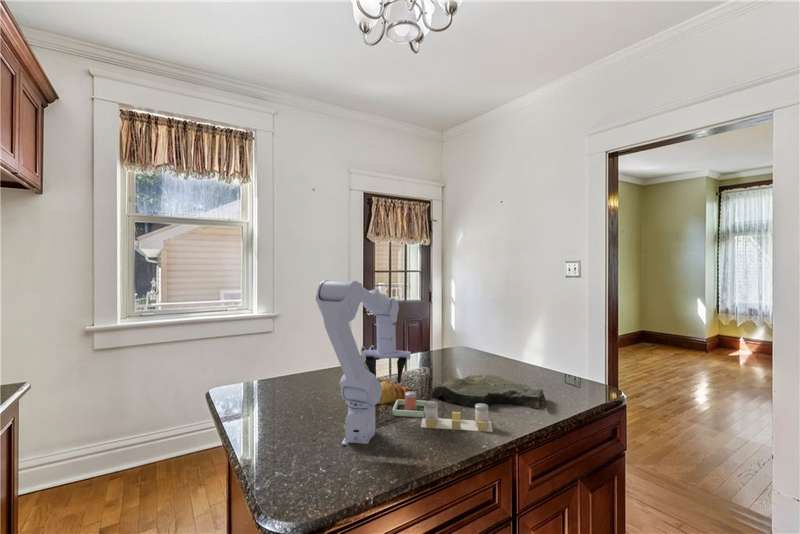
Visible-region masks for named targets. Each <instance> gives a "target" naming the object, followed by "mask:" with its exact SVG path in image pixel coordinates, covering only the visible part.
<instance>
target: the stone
mask: <svg viewBox="0 0 800 534" xmlns="http://www.w3.org/2000/svg"><path fill="white" fill-rule="evenodd" d="M441 397H442V398H443V401H445V402H447V403H449V404H455V403H456V404H458V405H462V406H464V407H470V408H475V405H476V404H478V403H483V404H486V405H488V408H489V407H492V406H493V405H498V406H499V405H507V406H508V405H510V406H511V405H512V406H519V407H520V406H521V407H524V408H529V409H533V410H540V409H541V408H544V409H546V406H547V404H546V403H547V402H546V396H545V393H544V390H543V389H542V388H539V387H535V386H532V385H527V384H524V383H520V382H516V381H512V380H509V379H507V378H505V377H503V376H501V375H495V374H478V375H476V374H473V375H472V374H471V375H468V376H466V377H465V378H454V377H451V378H447V379H446V380H445V381H443V382H441V383H440V384H438V385H437V386H434V387H433V388H432V391H431V393H430V398H431V399H435V400H439V399H440V398H441Z"/></svg>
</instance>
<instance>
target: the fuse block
mask: <svg viewBox="0 0 800 534" xmlns="http://www.w3.org/2000/svg"><path fill="white" fill-rule="evenodd" d="M461 417H462V416H461V411H451V418H441V417H440V418H439V417H438V424H437V425H435V418H426V424H425V417H422V419H421V423H420V424H421V425H420V428H427V429H441V430H442V429H443V430H456V431H457V430H458V431H459V430H460V431H461V430H462V431H472V432H473V431H474V432H475V431H476V432H491V433H493V432H494V431H493V424H492V421H490V420H488V428H487V421H478V428H477V427H476V426H475V420H472V419H461Z"/></svg>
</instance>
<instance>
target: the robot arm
mask: <svg viewBox="0 0 800 534" xmlns="http://www.w3.org/2000/svg"><path fill="white" fill-rule="evenodd" d="M315 301H316V303H317V306H318V308H319V311H320V314H321V315H322V317H323V324H324V328H325V331H326V333H327V336H328V338H329V340H330V343H331V345H332V347H333V349H334V350H333V351H334V352H335V355H336V357H337V360H338V362H339V365H340V367H341V370H342V372H343V375H341V378H340V380H339V383H338V384H339V386H340V394H341V397H342V399H343V400H344V401H345V405H347V415H346V418H345V420H344V421H345V422H344V436H345V437H344V438H343V440H342V441H341V445H342V446H348V444H349V443H351V444H352V443H353V444H354V443H355V444H364V445H365V444H366V445H367V444H369V443H370V440H371V439H372V438H373V437H374V436H375V434H376V405H378V404H377V403H378V402H379V400H380V398H381V395H382V386H381V383H380V382H381V381H379V379H377V359H397V361H396V364H397V365H396V366H397V367H396V368H397V377H396V378H397V380H396V381H397V384H401V381H402V375H403V371H404V368H405V365H406V363H407V360H410V359H411V351H409V350H408V351H407V350H399V349H398V350H397V348H396V347H397V346H396V345H397V341H396V340H397V339H396V333H397V332H396V323H397V321H398V314H399V309H400V307H399V302H398V300H397V299H395V298H394V297H388V296H387V295H386V294H385V293H380V290H379V289H377V288H375V289H374V288H373V289H371V290H368V289H367V288H365V287H363V283H362V282H359V281H357V280H352V281H348V280H347V281H346V280H345V281H344V280H343V281H342V280H328V279H326V280H325V279H324V280H322V281H321V282H320V283H319V285H318V287H317V291H316V296H315ZM361 303H362V305H363V307H364V309H366V310H368V311H370V312H372V314H373V316H374V317H376V349H374V350H369V349H366V350H364V351H363V352H362V358H366V360H365V363H366V365H367V366H368V368H369V371H370V372H369V371H368V370H366V369H365V367H364V364H363V361H362V359H361V356H360V353H361V352H360V351H359V348H358V346H357V343H356V340H355V337H354V335H353V332H352V329H351V327H350V322H351V321H353V320H355V318H356V317H357V316H356V315H357V313H358V310H359V307H360V305H361Z"/></svg>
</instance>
